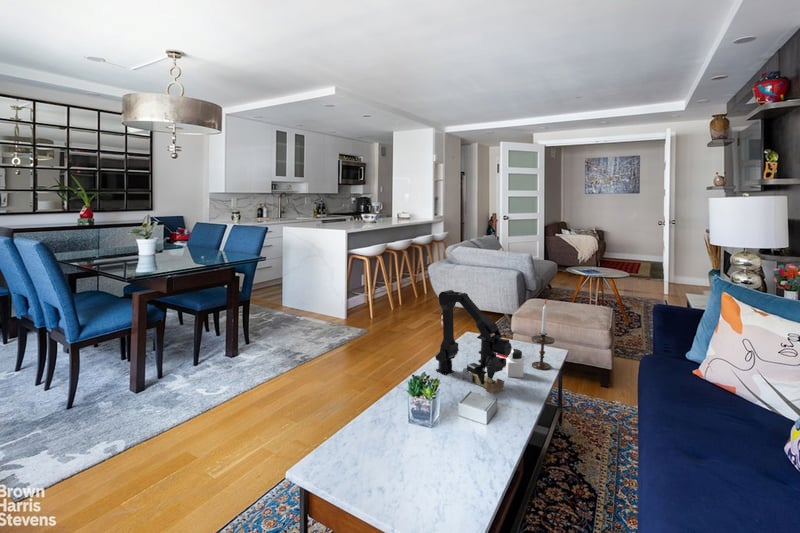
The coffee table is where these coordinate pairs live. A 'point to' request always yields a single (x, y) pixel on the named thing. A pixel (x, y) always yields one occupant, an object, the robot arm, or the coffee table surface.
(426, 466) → the coffee table surface
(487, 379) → the bar
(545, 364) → the candlestick
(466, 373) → the sleeve
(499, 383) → the socket
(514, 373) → the medicine bottle
